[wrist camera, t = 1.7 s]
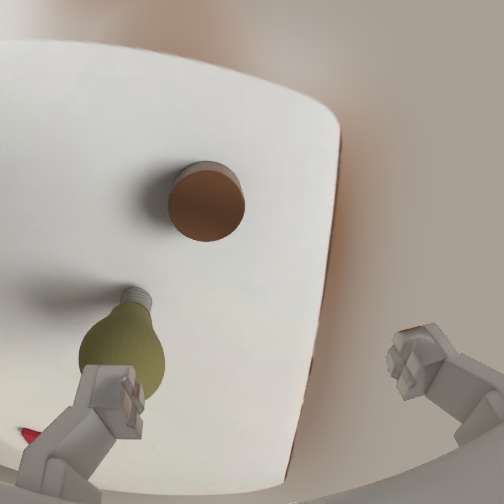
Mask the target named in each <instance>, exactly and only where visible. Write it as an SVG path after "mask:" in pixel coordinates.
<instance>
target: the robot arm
mask: <svg viewBox="0 0 504 504" xmlns="http://www.w3.org/2000/svg"><path fill="white" fill-rule="evenodd" d="M392 342H393V344H394V345H393V346H392V347H391V348H390V349H389V350H388V353H387V356H386V363H387V368H388V371H389V373H390V375H391V376H392V377H393V378H395V379H397V380H398V381H397V385H396V387H397V389H398V390H399V392H400V394H401V396H402V398H403V400H404V401H406V400H409V399H412V398H415V397H419V396H422V395H425V397H427V398H428V399H430V400H431V401H432V402H434V403H435V404H436V405H438V406H439V407H440V408H442V409H443V410H444V411H446V412H447V413H449V414H450V415H451V416H452V417H454V418H455V419H457V420H458V421H459V422H461V423H462V425H461V426H460V428H458V430H457V431H456V432H455V434H454V438H455V440H456V441H457V443H458V446H459V448H457V449H455V450H453V451H451V452H449V453H447V454H445V455H442V456H440V457H438V458H436V459H434V460H432V461H429V462H427V463H425V464H422V465H420V466H418V467H415V468H413V469H410V470H408V471H405V472H403V473H400V474H397V475H394V476H392V477H389V478H386V479H383V480H380V481H377V482H374V483H372V484H368V485H365V486H362V487H358V488H355V489H352V490H348V491H344V492H341V493H337V494H333V495H329V496H324V497H320V498H315V499H311V500H306V501H301V502H296V503H290V504H504V374H502V373H500V372H498V371H496V370H494V369H492V368H490V367H488V366H486V365H484V364H482V363H480V362H478V361H476V360H474V359H473V358H471V357H469V356H466V355H465V354H462V353H461V354H459V353H458V352H457V351H456V349H455V348H454V347H453V345H452V344H451V342H450V341H449V340H448V338H447V337H446V336H445V334H444V333H443V332H442V331H441V329H440V328H439V326H438V325H437V324H435V323H431V324H427V325H422V326H418V327H414V328H410V329H406V330H402V331H398V332H396V333H395V334H394V336H393V338H392ZM135 378H136V371H135V369H134V367H133V366H131V365H86V366H85V367H84V369H83V372H82V375H81V378H80V382H79V385H78V389H77V392H76V396H75V400H74V404H73V407H72V406H69V407H68V408H67V409H65V410H64V411H63V412H62V413H61V414H60V415H59V416H58V417H57V418H56V419H55V420H54V421H53V422H52V423H51V424H50V425H49V426H48V427H47V428H46V429H45V430H44V431H43V432H42V433H41V434H40V435H39V436H38V437H37V438H36V439H35V440H34V441H33V442H32V443H31V444H30V445H29V446H28V447H26V448H25V449H24V451H23V455H22V459H21V463H20V467H19V472H18V476H17V481H16V485H15V486H13V485H11V484H8V483H5V482H2V481H0V504H101V494H102V493H101V491H100V490H99V489H98V488H97V487H95V486H94V485H93V484H92V483H90V482H89V481H88V479H89V478H90V476H91V475H92V474H93V472H94V471H95V469H96V468H97V467H98V465H99V464H100V463H101V461H102V460H103V458H104V457H105V456H106V454H107V453H108V452H109V450H110V449H111V447H112V446H113V445H114V443H115V442H116V439H142V428H143V421H142V419H141V417H140V414H141V413H142V412H143V411H144V406H145V397H144V390H143V387H142V384H141V382H140V381H138V380H137V379H135Z"/></svg>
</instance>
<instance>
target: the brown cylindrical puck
mask: <svg viewBox="0 0 504 504" xmlns="http://www.w3.org/2000/svg"><path fill="white" fill-rule="evenodd" d="M168 210H169V215H170V218H171V220H172V223H173V224H174V226H175V227H176V228H177V229H178V230H179V231H180V232H181V233H182V234H183V235H185V236H187V237H188V238H191V239H193V240H197V241H203V242H210V241H216V240H219V239H222V238H224V237H226V236H228V235H229V234H231V233H232V232H233V231H234V230H235V229H236V228H237V227H238V225H239V224H240V222H241V220H242V218H243V215H244V211H245V200H244V196H243V192H242V189H241V186H240V183H239V180H238V178H237V177H236V175H235V174H234V173H233V172H232V171H231V170H230V169H229V168H228V167H226V166H224V165H222V164H220V163H217V162H212V161H202V162H197V163H194V164H192V165H190V166H188V167H187V168H185V169H184V170H183V171H182V172H181V173H180V174H179V175H178V177H177V178H176V180H175V182H174V185H173V188H172V191H171V194H170V197H169V202H168Z"/></svg>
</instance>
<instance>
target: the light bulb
mask: <svg viewBox="0 0 504 504" xmlns="http://www.w3.org/2000/svg"><path fill="white" fill-rule="evenodd" d="M151 306H152V298H151V296H150V294H149V293H148V292H147V291H145V290H144V289H142V288H138V287H131V288H128V289H126V290H125V291H124V292H123V295H122V298H121V301H120V303H119V305H117V306H116V307H115V308H114V309H113V310H112V312H111V313H110V314H109V315H108V316H107V317H105V318H104V319H102V320H101V321H99V322H98V323H96V324H95V325H94V326H93V327H92V328H91V329H90V330H89V331H88V332H87V334H86V335H85V336H84V339H83V341H82V343H81V346H80V350H79V368H80V372H81V374H82V372H83V369H84V367H85V366H86V365H131V366H133V367H134V369H135V371H136V378H135V379H137V380H138V381H140V382H141V384H142V387H143V390H144V397H145V400H146V399H148V398H149V397H150V396H152V395H153V394H154V393H155V391H156V390H157V389H158V387H159V386H160V384H161V381H162V379H163V376H164V371H165V357H164V352H163V348H162V346H161V343H160V341H159V339H158V337H157V335H156V334H155V332H154V330H153V327H152V320H151V316H150V310H151Z"/></svg>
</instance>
